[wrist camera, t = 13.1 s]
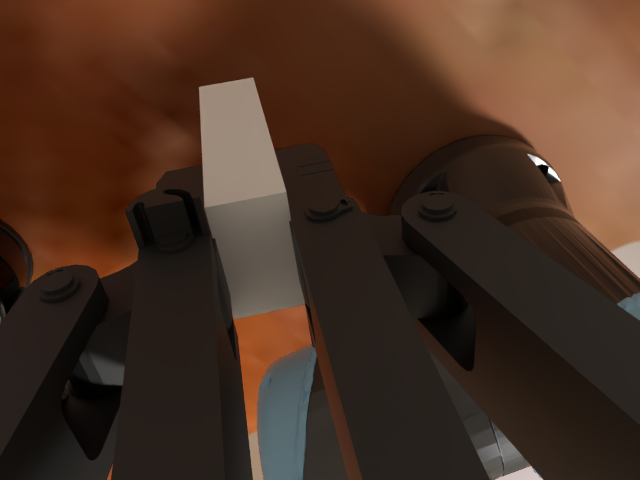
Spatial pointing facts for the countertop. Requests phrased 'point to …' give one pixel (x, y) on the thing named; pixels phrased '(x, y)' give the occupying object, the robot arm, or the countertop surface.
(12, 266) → the french press
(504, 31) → the countertop surface
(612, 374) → the robot arm
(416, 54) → the countertop surface
